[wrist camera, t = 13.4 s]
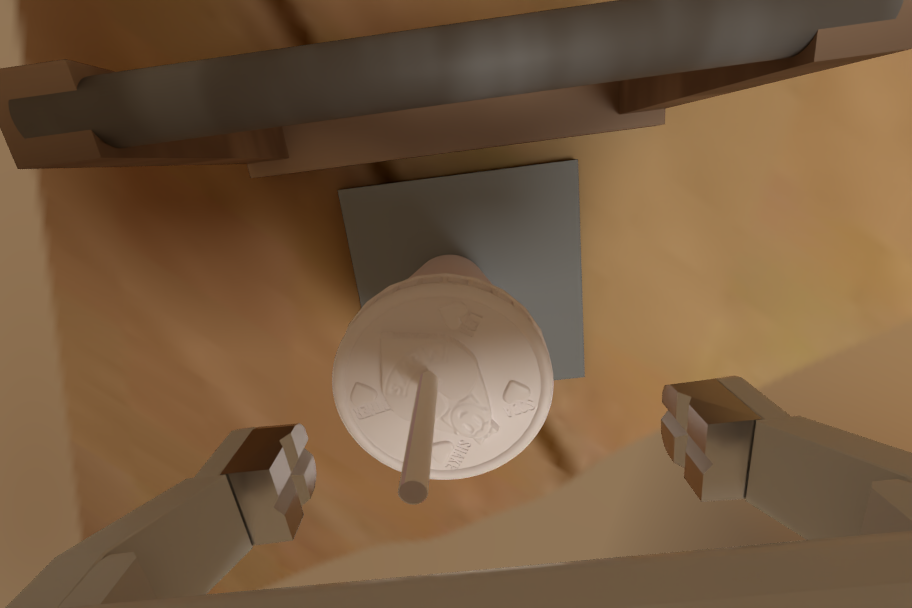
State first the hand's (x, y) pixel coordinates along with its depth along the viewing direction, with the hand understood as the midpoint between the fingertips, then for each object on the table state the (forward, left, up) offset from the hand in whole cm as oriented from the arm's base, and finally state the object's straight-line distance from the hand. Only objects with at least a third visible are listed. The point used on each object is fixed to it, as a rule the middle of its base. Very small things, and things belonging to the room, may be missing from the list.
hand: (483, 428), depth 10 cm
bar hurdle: (-8, 0, -13) cm, 15 cm away
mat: (0, 0, -13) cm, 13 cm away
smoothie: (0, -1, -12) cm, 12 cm away
